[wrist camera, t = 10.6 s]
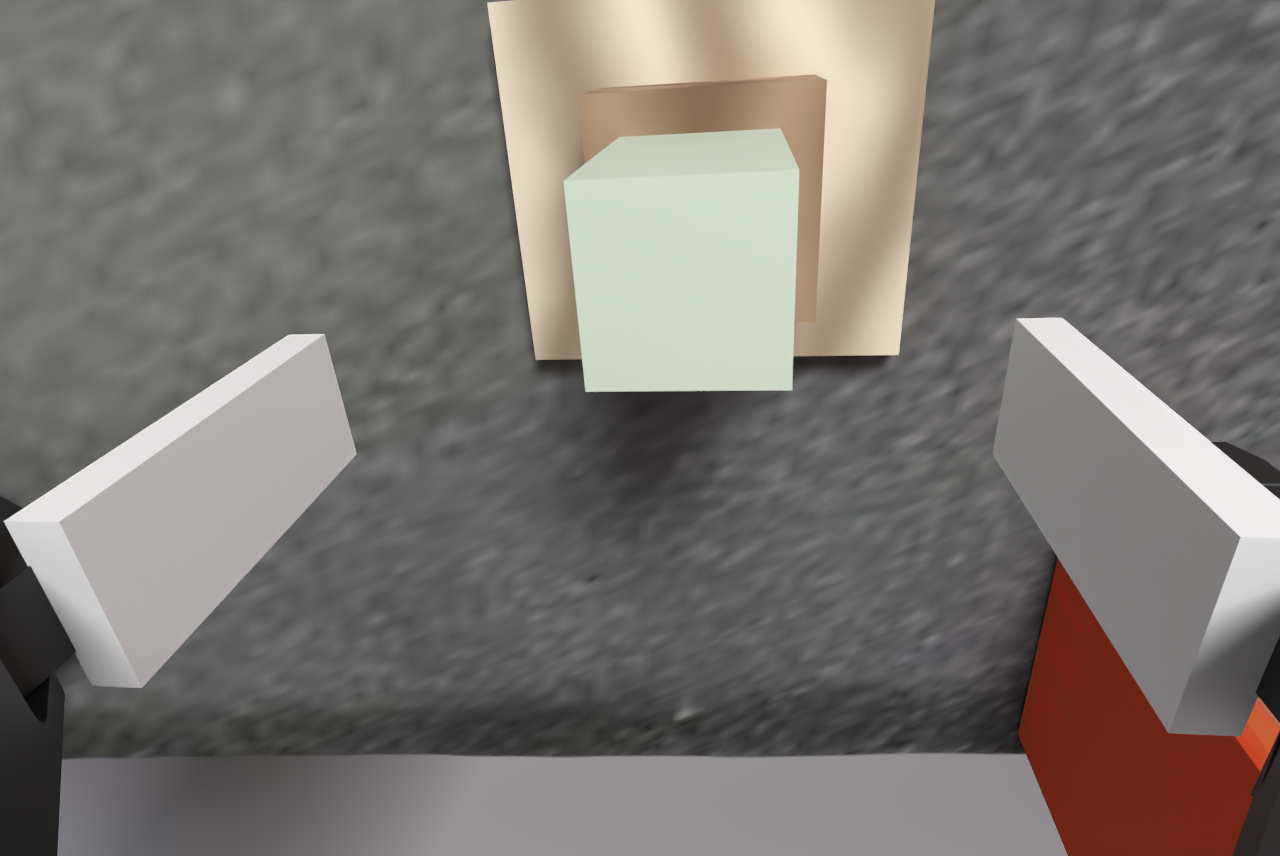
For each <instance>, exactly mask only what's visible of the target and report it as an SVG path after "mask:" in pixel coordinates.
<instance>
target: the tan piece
mask: <svg viewBox="0 0 1280 856" xmlns="http://www.w3.org/2000/svg"><path fill="white" fill-rule="evenodd" d="M487 4H488V11H489V19H490V26H491V34H492V41H493V48H494V56H495V63H496V71H497V78H498V85H499V93H500V100H501V107H502V115H503V122H504V130H505V137H506V144H507V152H508V159H509V166H510V174H511V181H512V189H513V196H514V203H515V211H516V218H517V226H518V233H519V240H520V248H521V255H522V262H523V270H524V277H525V285H526V292H527V299H528V307H529V314H530V322H531V329H532V336H533V344H534V351H535V358H536V360H561V359H582V354H581V344H580V335H579V325H578V316H577V306H576V297H575V287H574V278H573V268H572V259H571V249H570V240H569V230H568V221H567V211H566V202H565V192H564V183H563V181H564V180H565V179H566V178H568V177H569V176H570V175H571V174H573V173H574V172H575V171H576V170H578V169H579V168H580V167H582V166H583V165H584V164H585V163H587V162H588V161H589V160H591V159H592V158H593V157H594V156H596V155H597V154H598V153H599V152H601V151H602V150H603V149H605V148H606V147H607V146H608V145H610V144H611V143H612V142H613V141H615V140H616V139H617V138H619V137H630V136H648V135H667V134H685V133H704V132H722V131H741V130H759V129H778V128H781V130H782V132H783V135H784V137H785V139H786V141H787V143H788V146H789V148H790V150H791V152H792V154H793V157H794V159H795V161H796V163H797V165H798V168H799V199H798V229H797V259H796V289H795V320H794V350H793V356H859V355H899V348H900V338H901V328H902V318H903V309H904V299H905V289H906V279H907V269H908V260H909V250H910V240H911V230H912V221H913V211H914V201H915V191H916V181H917V172H918V162H919V152H920V142H921V133H922V123H923V113H924V103H925V93H926V84H927V74H928V64H929V54H930V45H931V35H932V25H933V15H934V5H935V0H515V1H502V2H490V3H487Z"/></svg>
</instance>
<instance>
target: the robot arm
mask: <svg viewBox="0 0 1280 856" xmlns="http://www.w3.org/2000/svg"><path fill="white" fill-rule="evenodd" d="M355 455H356V450H355V446H354V442H353V439H352V435H351V431H350V427H349V424H348V420H347V416H346V413H345V409H344V405H343V401H342V398H341V394H340V390H339V386H338V383H337V379H336V375H335V372H334V368H333V364H332V360H331V357H330V353H329V349H328V346H327V342H326V338H325V334H299V335H288V336H286V337H285V338H283V339H282V340H280V341H278V342H277V343H275V344H274V345H272V346H271V347H269V348H268V349H266V350H265V351H263V352H262V353H260V354H259V355H257V356H256V357H254V358H252V359H251V360H249V361H248V362H246V363H245V364H243V365H242V366H240V367H239V368H237V369H236V370H234V371H233V372H231V373H230V374H228V375H226V376H225V377H223V378H222V379H220V380H219V381H217V382H216V383H214V384H213V385H211V386H210V387H208V388H207V389H205V390H204V391H202V392H200V393H199V394H197V395H196V396H194V397H193V398H191V399H190V400H188V401H187V402H185V403H184V404H182V405H181V406H179V407H178V408H176V409H174V410H173V411H171V412H170V413H168V414H167V415H165V416H164V417H162V418H161V419H159V420H158V421H156V422H155V423H153V424H152V425H150V426H149V427H147V428H145V429H144V430H142V431H141V432H139V433H138V434H136V435H135V436H133V437H132V438H130V439H129V440H127V441H126V442H124V443H123V444H121V445H119V446H118V447H116V448H115V449H113V450H112V451H110V452H109V453H107V454H106V455H104V456H103V457H101V458H100V459H98V460H97V461H95V462H93V463H92V464H90V465H89V466H87V467H86V468H84V469H83V470H81V471H80V472H78V473H77V474H75V475H74V476H72V477H71V478H69V479H67V480H66V481H64V482H63V483H61V484H60V485H58V486H57V487H55V488H54V489H52V490H51V491H49V492H48V493H46V494H45V495H43V496H41V497H40V498H38V499H37V500H35V501H34V502H32V503H31V504H29V505H28V506H26V507H25V508H23V509H20V508H19V507H17V506H15V505H14V504H12V503H10V502H9V501H7V500H5V499H3V498H1V497H0V856H57V848H58V827H59V804H60V783H61V762H62V741H63V720H64V699H65V693H64V691H63V688H62V686H61V684H60V682H59V680H58V678H57V677H56V675H55V673H54V671H55V670H56V669H58V668H59V667H60V666H61V665H62V664H63V663H64V662H65V661H66V660H67V659H68V658H69V657H71V656H72V655H73V654H74V653H75V655H76V657H77V659H78V660H79V662H80V664H81V666H82V668H83V670H84V671H85V673H86V675H87V677H88V679H89V681H90V683H91V684H92V686H110V687H132V688H142V687H143V686H144V685H145V684H146V683H147V682H148V681H149V680H150V679H151V677H152V676H153V675H154V674H155V673H156V672H157V671H158V670H159V669H160V668H161V667H162V665H163V664H164V663H165V662H166V661H167V660H168V659H169V658H170V657H171V656H172V655H173V653H174V652H175V651H176V650H177V649H178V648H179V647H180V646H181V645H182V644H183V643H184V642H185V640H186V639H187V638H188V637H189V636H190V635H191V634H192V633H193V632H194V631H195V630H196V628H197V627H198V626H199V625H200V624H201V623H202V622H203V621H204V620H205V619H206V618H207V616H208V615H209V614H210V613H211V612H212V611H213V610H214V609H215V608H216V607H217V606H218V605H219V603H220V602H221V601H222V600H223V599H224V598H225V597H226V596H227V595H228V594H229V593H230V591H231V590H232V589H233V588H234V587H235V586H236V585H237V584H238V583H239V582H240V581H241V579H242V578H243V577H244V576H245V575H246V574H247V573H248V572H249V571H250V570H251V569H252V568H253V566H254V565H255V564H256V563H257V562H258V561H259V560H260V559H261V558H262V557H263V556H264V554H265V553H266V552H267V551H268V550H269V549H270V548H271V547H272V546H273V545H274V544H275V542H276V541H277V540H278V539H279V538H280V537H281V536H282V535H283V534H284V533H285V532H286V531H287V529H288V528H289V527H290V526H291V525H292V524H293V523H294V522H295V521H296V520H297V519H298V517H299V516H300V515H301V514H302V513H303V512H304V511H305V510H306V509H307V508H308V507H309V505H310V504H311V503H312V502H313V501H314V500H315V499H316V498H317V497H318V496H319V495H320V494H321V492H322V491H323V490H324V489H325V488H326V487H327V486H328V485H329V484H330V483H331V482H332V480H333V479H334V478H335V477H336V476H337V475H338V474H339V473H340V472H341V471H342V470H343V468H344V467H345V466H346V465H347V464H348V463H349V462H350V461H351V460H352V459H353V458H354V457H355ZM993 456H994V457H995V459H996V460H997V462H998V464H999V465H1000V467H1001V468H1002V470H1003V471H1004V473H1005V475H1006V476H1007V478H1008V479H1009V481H1010V483H1011V484H1012V486H1013V487H1014V489H1015V490H1016V492H1017V494H1018V495H1019V497H1020V498H1021V500H1022V502H1023V503H1024V505H1025V506H1026V508H1027V510H1028V511H1029V513H1030V514H1031V516H1032V517H1033V519H1034V521H1035V522H1036V524H1037V525H1038V527H1039V529H1040V530H1041V532H1042V533H1043V535H1044V536H1045V538H1046V540H1047V541H1048V543H1049V544H1050V546H1051V548H1052V549H1053V551H1054V552H1055V554H1056V556H1057V557H1058V559H1059V560H1060V562H1061V563H1062V565H1063V567H1064V568H1065V570H1066V571H1067V573H1068V575H1069V576H1070V578H1071V579H1072V581H1073V582H1074V584H1075V586H1076V587H1077V589H1078V590H1079V592H1080V594H1081V595H1082V597H1083V598H1084V600H1085V602H1086V603H1087V605H1088V606H1089V608H1090V609H1091V611H1092V613H1093V614H1094V616H1095V617H1096V619H1097V621H1098V622H1099V624H1100V625H1101V627H1102V628H1103V630H1104V632H1105V633H1106V635H1107V636H1108V638H1109V640H1110V641H1111V643H1112V644H1113V646H1114V648H1115V649H1116V651H1117V652H1118V654H1119V655H1120V657H1121V659H1122V660H1123V662H1124V663H1125V665H1126V667H1127V668H1128V670H1129V671H1130V673H1131V674H1132V676H1133V678H1134V679H1135V681H1136V682H1137V684H1138V686H1139V687H1140V689H1141V690H1142V692H1143V694H1144V695H1145V697H1146V698H1147V700H1148V701H1149V703H1150V705H1151V706H1152V708H1153V709H1154V711H1155V713H1156V714H1157V716H1158V717H1159V719H1160V721H1161V722H1162V724H1163V725H1164V727H1165V728H1166V730H1167V732H1168V733H1174V734H1197V735H1219V736H1241V735H1242V733H1243V730H1244V728H1245V726H1246V723H1247V721H1248V719H1249V717H1250V714H1251V712H1252V710H1253V707H1254V705H1255V703H1256V700H1257V698H1258V697H1259V698H1260V699H1261V700H1262V702H1263V703H1264V704H1265V705H1266V707H1267V708H1268V709H1269V710H1270V712H1271V713H1272V714H1273V715H1274V717H1275V718H1276V719H1277V720H1278V722H1279V723H1280V471H1278V470H1277V469H1276V468H1275V467H1273V466H1272V465H1271V464H1269V463H1268V462H1267V461H1266V460H1264V459H1261V458H1259V457H1257V456H1255V455H1253V454H1251V453H1249V452H1246V451H1244V450H1242V449H1240V448H1238V447H1236V446H1233V445H1231V444H1229V443H1227V442H1210V441H1209V440H1208V439H1207V438H1205V437H1204V436H1203V435H1202V434H1201V433H1199V432H1198V431H1197V430H1196V429H1195V428H1193V427H1192V426H1191V425H1190V424H1189V423H1187V422H1186V421H1185V420H1184V419H1183V418H1181V417H1180V416H1179V415H1178V414H1177V413H1176V412H1174V411H1173V410H1172V409H1171V408H1170V407H1168V406H1167V405H1166V404H1165V403H1164V402H1162V401H1161V400H1160V399H1159V398H1158V397H1156V396H1155V395H1154V394H1153V393H1152V392H1150V391H1149V390H1148V389H1147V388H1146V387H1144V386H1143V385H1142V384H1141V383H1140V382H1138V381H1137V380H1136V379H1135V378H1134V377H1132V376H1131V375H1130V374H1129V373H1128V372H1126V371H1125V370H1124V369H1123V368H1122V367H1120V366H1119V365H1118V364H1117V363H1116V362H1114V361H1113V360H1112V359H1111V358H1110V357H1108V356H1107V355H1106V354H1105V353H1104V352H1102V351H1101V350H1100V349H1099V348H1098V347H1096V346H1095V345H1094V344H1093V343H1092V342H1090V341H1089V340H1088V339H1087V338H1086V337H1085V336H1083V335H1082V334H1081V333H1080V332H1079V331H1077V330H1076V329H1075V328H1074V327H1073V326H1071V325H1070V324H1069V323H1068V322H1067V321H1065V320H1064V319H1063V318H1025V319H1016V322H1015V328H1014V334H1013V340H1012V345H1011V351H1010V357H1009V363H1008V368H1007V374H1006V380H1005V386H1004V391H1003V397H1002V403H1001V409H1000V414H999V420H998V426H997V432H996V437H995V443H994V449H993ZM1250 795H1251V796H1253V800H1252V802H1251V805H1250V808H1249V810H1248V813H1247V816H1246V819H1245V821H1244V824H1243V827H1242V829H1241V832H1240V835H1239V837H1238V840H1237V843H1236V846H1235V848H1234V851H1233V854H1232V856H1280V731H1279V733H1278V735H1277V738H1276V740H1275V742H1274V744H1273V746H1272V748H1271V750H1270V753H1269V755H1268V757H1267V759H1266V761H1265V763H1264V766H1263V768H1262V770H1261V772H1260V774H1259V776H1258V779H1257V781H1256V783H1255V785H1254V787H1253V789H1252V792H1251V794H1250Z"/></svg>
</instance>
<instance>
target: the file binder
mask: <svg viewBox="0 0 1280 856" xmlns="http://www.w3.org/2000/svg"><path fill="white" fill-rule="evenodd" d="M1279 731H1280V723H1279V722H1278V720H1277V719H1276V718H1275V717H1274V715H1273V714H1272V713H1271V712H1270V710H1269V709H1268V708H1267V707H1266V705H1265V704H1264V703H1263V702H1262V700H1261V699H1260V698H1259V697H1258V698H1257V700H1256V703H1255V705H1254V707H1253V710H1252V712H1251V714H1250V717H1249V719H1248V721H1247V723H1246V726H1245V728H1244V730H1243V733H1242V735H1241V736H1219V735H1197V734H1174V733H1168V732H1167V730H1166V728H1165V727H1164V725H1163V724H1162V722H1161V721H1160V719H1159V717H1158V716H1157V714H1156V713H1155V711H1154V709H1153V708H1152V706H1151V705H1150V703H1149V701H1148V700H1147V698H1146V697H1145V695H1144V694H1143V692H1142V690H1141V689H1140V687H1139V686H1138V684H1137V682H1136V681H1135V679H1134V678H1133V676H1132V674H1131V673H1130V671H1129V670H1128V668H1127V667H1126V665H1125V663H1124V662H1123V660H1122V659H1121V657H1120V655H1119V654H1118V652H1117V651H1116V649H1115V648H1114V646H1113V644H1112V643H1111V641H1110V640H1109V638H1108V636H1107V635H1106V633H1105V632H1104V630H1103V628H1102V627H1101V625H1100V624H1099V622H1098V621H1097V619H1096V617H1095V616H1094V614H1093V613H1092V611H1091V609H1090V608H1089V606H1088V605H1087V603H1086V602H1085V600H1084V598H1083V597H1082V595H1081V594H1080V592H1079V590H1078V589H1077V587H1076V586H1075V584H1074V582H1073V581H1072V579H1071V578H1070V576H1069V575H1068V573H1067V571H1066V570H1065V568H1064V567H1063V565H1062V563H1061V562H1060V560H1059V559H1057V563H1056V568H1055V572H1054V577H1053V581H1052V586H1051V590H1050V594H1049V599H1048V603H1047V608H1046V612H1045V616H1044V621H1043V625H1042V630H1041V634H1040V639H1039V643H1038V647H1037V652H1036V656H1035V661H1034V665H1033V669H1032V674H1031V678H1030V683H1029V687H1028V692H1027V696H1026V700H1025V705H1024V709H1023V714H1022V718H1021V722H1020V727H1019V731H1018V735H1019V738H1020V740H1021V743H1022V745H1023V747H1024V750H1025V752H1026V755H1027V757H1028V760H1029V762H1030V764H1031V766H1032V769H1033V771H1034V774H1035V777H1036V779H1037V781H1038V784H1039V786H1040V789H1041V791H1042V794H1043V796H1044V798H1045V801H1046V803H1047V806H1048V808H1049V810H1050V813H1051V815H1052V818H1053V820H1054V823H1055V825H1056V827H1057V830H1058V832H1059V835H1060V837H1061V840H1062V842H1063V844H1064V847H1065V849H1066V852H1067V854H1068V856H1232V854H1233V851H1234V848H1235V846H1236V843H1237V840H1238V837H1239V835H1240V832H1241V829H1242V827H1243V824H1244V821H1245V819H1246V816H1247V813H1248V810H1249V808H1250V805H1251V802H1252V800H1253V796H1251V795H1250V794H1251V792H1252V789H1253V787H1254V785H1255V783H1256V781H1257V779H1258V776H1259V774H1260V772H1261V770H1262V768H1263V766H1264V763H1265V761H1266V759H1267V757H1268V755H1269V753H1270V750H1271V748H1272V746H1273V744H1274V742H1275V740H1276V738H1277V735H1278V733H1279Z"/></svg>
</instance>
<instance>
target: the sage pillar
mask: <svg viewBox="0 0 1280 856" xmlns="http://www.w3.org/2000/svg"><path fill="white" fill-rule="evenodd" d="M563 183H564V192H565V202H566V211H567V221H568V230H569V240H570V249H571V259H572V268H573V278H574V287H575V297H576V306H577V316H578V325H579V335H580V344H581V354H582V363H583V373H584V382H585V392H626V391H761V390H792V380H793V350H794V320H795V289H796V259H797V229H798V199H799V168H798V165H797V163H796V161H795V159H794V157H793V154H792V152H791V150H790V148H789V146H788V143H787V141H786V139H785V137H784V135H783V132H782V130H781V128H778V129H759V130H741V131H722V132H704V133H685V134H667V135H648V136H630V137H619V138H617V139H616V140H615V141H613V142H612V143H611V144H610V145H608V146H607V147H606V148H605V149H603V150H602V151H601V152H599V153H598V154H597V155H596V156H594V157H593V158H592V159H591V160H589V161H588V162H587V163H585V164H584V165H583V166H582V167H580V168H579V169H578V170H576V171H575V172H574V173H573V174H571V175H570V176H569V177H568V178H566V179H565V180H564V181H563Z"/></svg>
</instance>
